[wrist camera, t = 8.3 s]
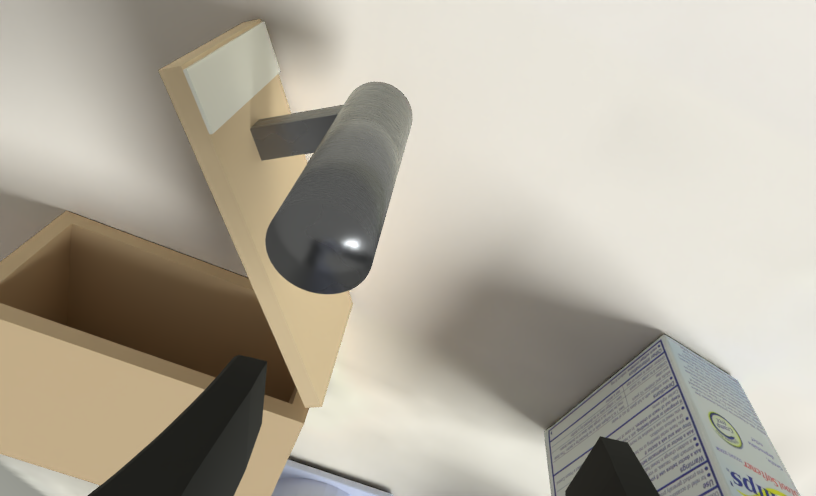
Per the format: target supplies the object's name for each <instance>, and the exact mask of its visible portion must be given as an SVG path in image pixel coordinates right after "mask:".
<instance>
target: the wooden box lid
mask: <svg viewBox="0 0 816 496" xmlns="http://www.w3.org/2000/svg"><path fill="white" fill-rule="evenodd" d="M158 71H159V73H160V76H161V78H162V80H163V83H164V85H165V87H166V90H167V92H168V94H169V96H170V99H171V101H172V103H173V106H174V108H175V110H176V112H177V115H178V117H179V119H180V122H181V124H182V126H183V129H184V131H185V133H186V135H187V138H188V140H189V142H190V145H191V147H192V149H193V151H194V154H195V156H196V158H197V161H198V163H199V165H200V168H201V170H202V172H203V174H204V177H205V179H206V181H207V184H208V186H209V188H210V190H211V193H212V195H213V197H214V200H215V202H216V204H217V207H218V209H219V211H220V213H221V216H222V218H223V220H224V223H225V225H226V227H227V229H228V232H229V234H230V236H231V239H232V241H233V243H234V246H235V248H236V250H237V252H238V255H239V257H240V259H241V262H242V264H243V266H244V268H245V271H246V273H247V275H248V278H249V280H250V282H251V285H252V287H253V289H254V291H255V294H256V296H257V298H258V301H259V303H260V305H261V307H262V310H263V312H264V314H265V317H266V319H267V321H268V324H269V326H270V328H271V330H272V333H273V335H274V337H275V340H276V342H277V344H278V346H279V349H280V351H281V353H282V356H283V358H284V360H285V363H286V365H287V367H288V369H289V372H290V374H291V376H292V379H293V381H294V383H295V385H296V388H297V390H298V392H299V395H300V397H301V399H302V402H303V404H304V406H305V408H311V407H322V404H323V401H324V398H325V394H326V391H327V388H328V384H329V381H330V378H331V374H332V371H333V368H334V365H335V361H336V358H337V355H338V351H339V348H340V345H341V341H342V338H343V335H344V331H345V328H346V325H347V321H348V318H349V315H350V312H351V308H352V305H353V303H352V300H351V297H350V294H349V291H348V290H351V289H353V288H354V287H356V286H358V285H359V284H360V283H361V282H362V281H363V280H364V279H365V278H366V276H367V275H368V273H369V271H370V269H371V266H372V263H373V259H374V256H375V252H376V248H377V245H378V241H379V238H380V234H381V231H382V227H383V224H384V220H385V217H386V213H387V210H388V206H389V202H390V199H391V195H392V192H393V188H394V185H395V181H396V178H397V174H398V171H399V167H400V164H401V160H402V156H403V153H404V149H405V146H406V142H407V139H408V135H409V132H410V128H411V125H412V110H411V106H410V104H409V102H408V100H407V98H406V97H405V96H404V94H403V93H402V92H401V91H400V90H398V89H397V88H395V87H394V86H392V85H390V84H387V83H383V82H370V83H366V84H363V85H361V86H359V87H358V88H356V89H355V90H354V91H353V92H352V93H351V95H350V96H349V97H348V99H347V101H346V102H345V104H344V105H340V106H334V107H328V108H322V109H316V110H311V111H305V112H299V113H293V114H291V112H290V108H289V105H288V102H287V99H286V96H285V93H284V90H283V87H282V84H281V81H280V78H279V73H280V72H281V71H280V68H279V65H278V62H277V59H276V56H275V53H274V50H273V47H272V43H271V40H270V37H269V34H268V31H267V28H266V25H265V22H261V19H257V20H252V21H248V22H243V23H241V24H239V25H238V26H236V27H234V28H232V29H231V30H229V31H227V32H225V33H223V34H222V35H220V36H218V37H216V38H215V39H213V40H211V41H209V42H207V43H206V44H204V45H202V46H200V47H199V48H197V49H195V50H193V51H191V52H190V53H188V54H186V55H184V56H183V57H181V58H179V59H177V60H175V61H174V62H172V63H170V64H168V65H167V66H165V67H163V68H161V69H159V70H158ZM308 153H314V154H313V155H312V157H311V158H310V160H309V162H308V163H307V161H306V158H305V155H304V154H308Z"/></svg>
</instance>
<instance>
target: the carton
mask: <svg viewBox="0 0 816 496" xmlns="http://www.w3.org/2000/svg"><path fill="white" fill-rule="evenodd" d="M237 355H242V356H247V357H251V358H256V359H260V360H264V361H267V371H266V382H265V394H264V406H263V417H262V425H261V428H260V431H259V434H258V436H257V439H256V442H255V445H254V448H253V451H252V454H251V457H250V459H249V462H248V465H247V468H246V471H245V473H244V475H243V477H242V479H241V481H240V484H239V486H238V488H237V490H236V492H235V494H234V496H271V495H272V493H273V491H274V489H275V486H276V484H277V482H278V480H279V478H280V475H281V473H282V471H283V469H284V467H285V464H286V462H287V460H288V458H289V456H290V453H291V451H292V449H293V447H294V444H295V442H296V440H297V438H298V436H299V433H300V431H301V429H302V427H303V425H304V422H305V419H306V416H307V413H308V410H309V408H305V406H304V404H303V402H302V399H301V397H300V395H299V392H298V390H297V388H296V385H295V383H294V381H293V379H292V376H291V374H290V372H289V369H288V367H287V365H286V363H285V360H284V358H283V356H282V353H281V351H280V349H279V346H278V344H277V342H276V340H275V337H274V335H273V333H272V330H271V328H270V326H269V324H268V321H267V319H266V317H265V314H264V312H263V310H262V307H261V305H260V303H259V301H258V298H257V296H256V294H255V291H254V289H253V287H252V285H251V282H250V280H249V278H246V277H243V276H241V275H238V274H235V273H233V272H230V271H227V270H225V269H222V268H219V267H216V266H214V265H211V264H208V263H206V262H203V261H200V260H198V259H195V258H192V257H190V256H187V255H184V254H181V253H179V252H176V251H173V250H171V249H168V248H165V247H163V246H160V245H157V244H155V243H152V242H149V241H147V240H144V239H141V238H138V237H136V236H133V235H130V234H128V233H125V232H122V231H120V230H117V229H114V228H112V227H109V226H106V225H103V224H101V223H98V222H95V221H93V220H90V219H87V218H85V217H82V216H79V215H77V214H74V213H71V212H68V211H65V212H64V213H63V214H61V215H60V216H59V217H57V218H56V219H55V220H54V221H52V222H51V223H50V224H48V225H47V226H46V227H45V228H43V229H42V230H41V231H39V232H38V233H37V234H36V235H34V236H33V237H32V238H30V239H29V240H28V241H27V242H25V243H24V244H23V245H21V246H20V247H19V248H18V249H16V250H15V251H14V252H12V253H11V254H10V255H9V256H7V257H6V258H5V259H3V260H2V261H1V262H0V454H3V455H6V456H9V457H12V458H15V459H18V460H22V461H25V462H28V463H31V464H34V465H38V466H41V467H44V468H47V469H50V470H53V471H57V472H60V473H63V474H66V475H69V476H72V477H76V478H79V479H82V480H85V481H88V482H92V483H95V484H98V485H102V484H103V483H104V482H105V481H107V480H108V479H109V478H110V477H111V476H113V475H114V474H115V473H116V472H117V471H119V470H120V469H121V468H122V467H123V466H124V465H126V464H127V463H128V462H129V461H130V460H131V459H132V458H134V457H135V456H136V455H137V454H138V453H139V452H140V451H142V450H143V449H144V448H145V447H146V446H147V445H148V444H149V443H151V442H152V441H153V440H154V439H155V438H156V437H157V436H158V435H159V434H161V433H162V432H163V431H164V430H165V429H166V428H167V427H168V426H169V425H170V424H171V423H172V422H173V421H174V420H175V419H176V418H177V417H178V416H179V415H180V414H181V413H182V412H183V411H184V410H185V409H186V408H187V407H188V406H189V405H190V404H191V403H192V402H193V401H194V400H195V399H196V398H197V397H198V396H199V395H200V394H201V393H202V392H203V391H204V390H205V389H206V388H207V387H208V386H209V385H210V384H211V382H212V381H213V380H214V379H215V378H216V377H217V376H218V375H219V374H220V372H221V371H222V370H223V369H224V368H225V367H226V366H227V364H228V363H229V362H230V361H231V360H232V358H233V357H235V356H237Z"/></svg>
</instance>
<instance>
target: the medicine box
mask: <svg viewBox="0 0 816 496" xmlns="http://www.w3.org/2000/svg"><path fill="white" fill-rule="evenodd" d="M600 436H601V437H606V438H610V439H615V440H619V441H623V442H628V443H629V445H630V447H631V448H632V450H633V452H634V453H635V455H636V457H637V458H638V460H639V461H640V463H641V465H642V467H643V468H644V470H645V472H646V473H647V475H648V477H649V478H650V480H651V482H652V483H653V485H654V487H655V488H656V490H657V492H658V493H659V495H660V496H800V494H799V492H798V491H797V489H796V487H795V485H794V483H793V481H792V480H791V478H790V476H789V474H788V472H787V470H786V468H785V467H784V465H783V463H782V461H781V459H780V457H779V455H778V454H777V452H776V450H775V448H774V446H773V444H772V443H771V441H770V439H769V437H768V435H767V433H766V431H765V429H764V427H763V426H762V424H761V422H760V420H759V418H758V416H757V414H756V413H755V411H754V409H753V407H752V405H751V403H750V401H749V400H748V398H747V396H746V394H745V392H744V390H743V388H742V387H741V385H740V383H739V382H738V381H737V380H736V379H735V378H733V377H732V376H730V375H729V374H727V373H725V372H724V371H722V370H721V369H719V368H718V367H716V366H715V365H713V364H712V363H710V362H709V361H707V360H705V359H704V358H702V357H700V356H698V355H697V354H695V353H694V352H692V351H690V350H689V349H687V348H686V347H684V346H683V345H681V344H680V343H678V342H676V341H675V340H673V339H672V338H670V337H668V336H667V335H662V336H661V337H660V338H658V339H657V340H656V341H655V342H654V343H652V344H651V345H650V346H649V347H648V348H646V349H645V350H644V351H643V352H642V353H640V354H639V355H638V356H637V357H636V358H634V359H633V360H632V361H631V362H629V363H628V364H627V365H626V366H624V367H623V368H622V369H621V370H620V371H618V372H617V373H616V374H615V375H614V376H612V377H611V378H610V379H609V380H607V381H606V382H605V383H604V384H603V385H601V386H600V387H599V388H598V389H596V390H595V391H594V392H593V393H592V394H590V395H589V396H588V397H587V398H586V399H584V400H583V401H582V402H581V403H580V404H578V405H577V406H576V407H575V408H573V409H572V410H571V411H570V412H569V413H567V414H566V415H565V416H564V417H562V418H561V419H560V420H559V421H558V422H556V423H555V424H554V425H553V426H552V427H550V428H548V429H547V430H546V431H545V432H544V437H545V446H546V454H547V463H548V471H549V479H550V489H551V496H565V491H566V489H567V488H568V486H569V484H570V483H571V481H572V480H573V478H574V477H575V475H576V473H577V472H578V470H579V469H580V467H581V466H582V464H583V462H584V461H585V459H586V458H587V456H588V455H589V453H590V451H591V450H592V448H593V447H594V445H595V444H596V442H597V440H598V439H599V437H600Z"/></svg>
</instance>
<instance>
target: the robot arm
mask: <svg viewBox="0 0 816 496" xmlns="http://www.w3.org/2000/svg"><path fill="white" fill-rule="evenodd" d="M266 371H267V361H264V360H260V359H256V358H251V357H247V356H242V355H237V356H235V357H233V358H232V360H231V361H230V362H229V363H228V364H227V366H226V367H225V368H224V369H223V370H222V371H221V372H220V374H219V375H218V376H217V377H216V378H215V379H214V380H213V381H212V382H211V384H210V385H209V386H208V387H207V388H206V389H205V390H204V391H203V392H202V393H201V394H200V395H199V396H198V397H197V398H196V399H195V400H194V401H193V402H192V403H191V404H190V405H189V406H188V407H187V408H186V409H185V410H184V411H183V412H182V413H181V414H180V415H179V416H178V417H177V418H176V419H175V420H174V421H173V422H172V423H171V424H170V425H169V426H168V427H167V428H166V429H165V430H164V431H163V432H162V433H161V434H159V435H158V436H157V437H156V438H155V439H154V440H153V441H152V442H151V443H149V444H148V445H147V446H146V447H145V448H144V449H143V450H142V451H140V452H139V453H138V454H137V455H136V456H135V457H134V458H132V459H131V460H130V461H129V462H128V463H127V464H126V465H124V466H123V467H122V468H121V469H120V470H119V471H117V472H116V473H115V474H114V475H113V476H111V477H110V478H109V479H108V480H107V481H105V482H104V483H103V484H102V485H100V486H99V487H98V488H97V489H95V490H94V491H93V492H92V493H90V494H89V495H88V496H234V494H235V492H236V490H237V488H238V486H239V484H240V481H241V479H242V477H243V475H244V473H245V471H246V468H247V465H248V462H249V459H250V457H251V454H252V451H253V448H254V445H255V442H256V439H257V436H258V434H259V431H260V428H261V425H262V417H263V406H264V394H265V382H266ZM271 496H393V495H392V494H390V493H387V492H384V491H381V490H378V489H375V488H372V487H369V486H366V485H363V484H360V483H357V482H354V481H351V480H348V479H345V478H342V477H339V476H336V475H333V474H330V473H327V472H324V471H321V470H318V469H315V468H312V467H309V466H306V465H303V464H300V463H297V462H294V461H291V460H287V462H286V464H285V467H284V469H283V471H282V473H281V475H280V478H279V480H278V482H277V484H276V486H275V489H274V491H273V493H272V495H271ZM565 496H660V495H659V493H658V492H657V490H656V488H655V487H654V485H653V483H652V482H651V480H650V478H649V477H648V475H647V473H646V472H645V470H644V468H643V467H642V465H641V463H640V461H639V460H638V458H637V457H636V455H635V453H634V452H633V450H632V448H631V447H630V445H629V443H628V442H623V441H619V440H615V439H610V438H606V437H601V436H600V437H599V439H598V440H597V442H596V444H595V445H594V447H593V448H592V450H591V451H590V453H589V455H588V456H587V458H586V459H585V461H584V462H583V464H582V466H581V467H580V469H579V470H578V472H577V473H576V475H575V477H574V478H573V480H572V481H571V483H570V484H569V486H568V488H567V489H566V491H565Z"/></svg>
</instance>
